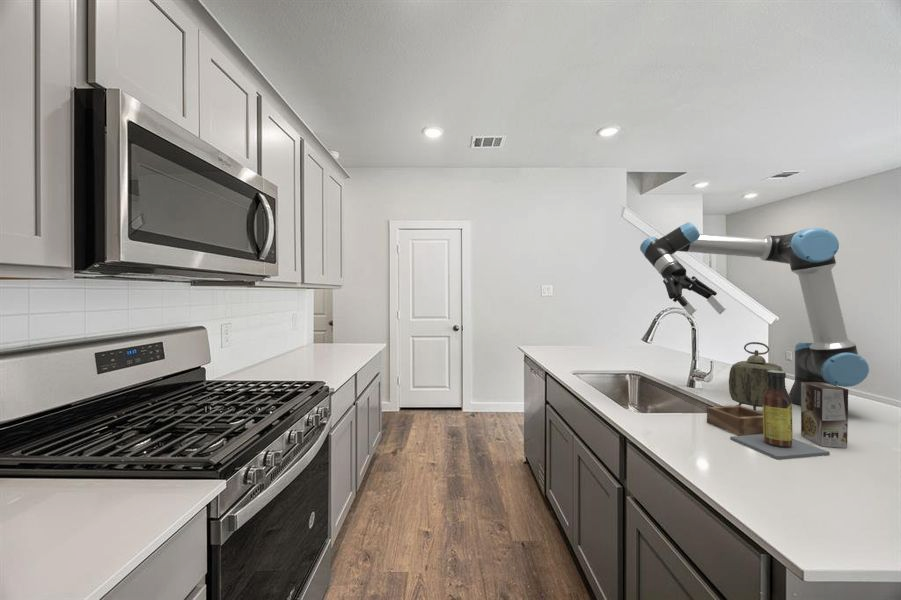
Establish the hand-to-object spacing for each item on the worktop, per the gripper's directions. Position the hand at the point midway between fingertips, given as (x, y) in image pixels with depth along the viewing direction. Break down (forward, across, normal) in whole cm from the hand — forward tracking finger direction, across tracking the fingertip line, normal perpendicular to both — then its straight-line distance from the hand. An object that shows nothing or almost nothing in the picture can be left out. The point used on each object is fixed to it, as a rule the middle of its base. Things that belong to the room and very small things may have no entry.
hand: (708, 312), depth 134 cm
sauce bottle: (+42, +6, -7) cm, 43 cm away
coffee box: (+44, -10, -6) cm, 46 cm away
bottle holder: (+33, 0, -18) cm, 37 cm away
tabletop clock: (+28, -18, -23) cm, 40 cm away
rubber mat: (+43, +6, -8) cm, 44 cm away
